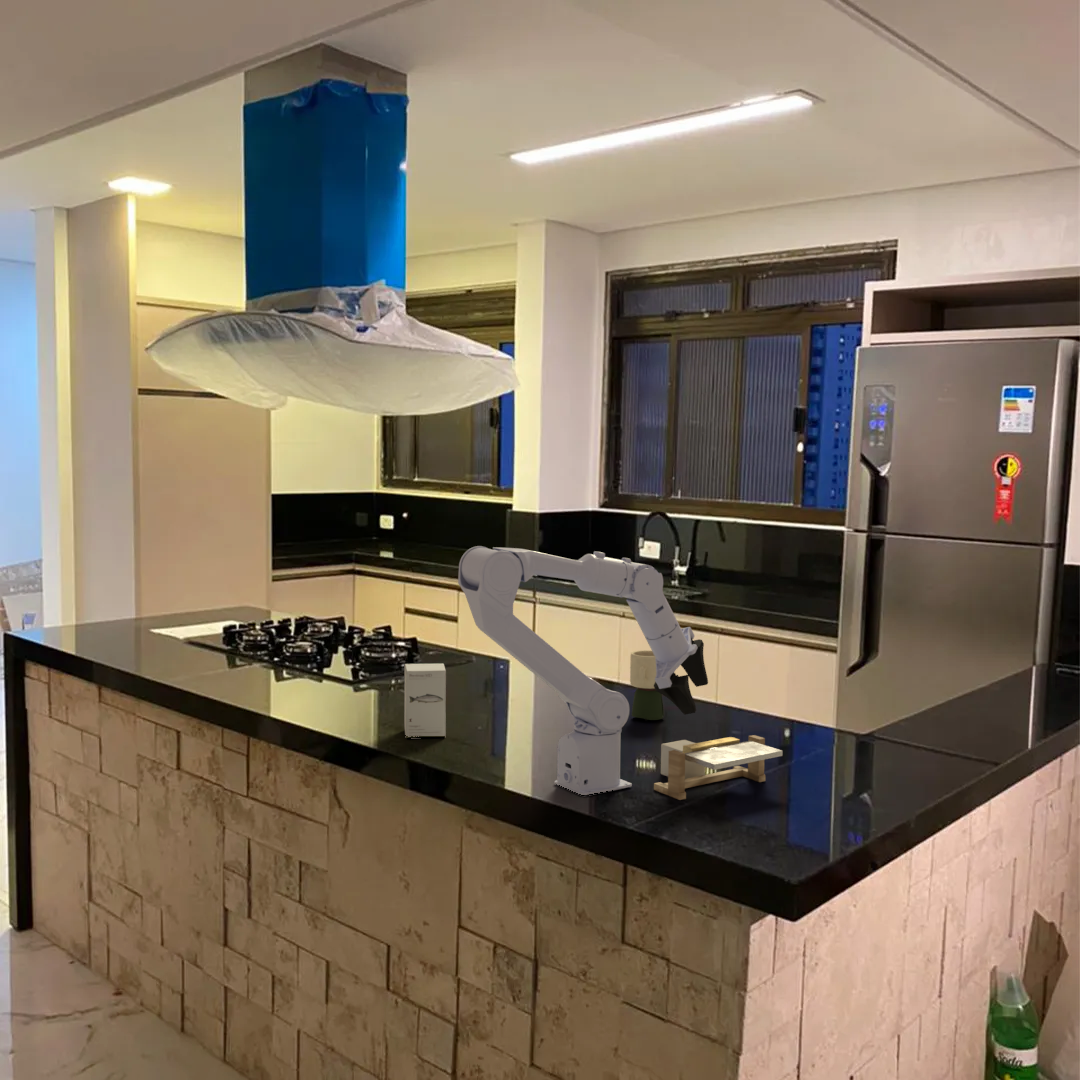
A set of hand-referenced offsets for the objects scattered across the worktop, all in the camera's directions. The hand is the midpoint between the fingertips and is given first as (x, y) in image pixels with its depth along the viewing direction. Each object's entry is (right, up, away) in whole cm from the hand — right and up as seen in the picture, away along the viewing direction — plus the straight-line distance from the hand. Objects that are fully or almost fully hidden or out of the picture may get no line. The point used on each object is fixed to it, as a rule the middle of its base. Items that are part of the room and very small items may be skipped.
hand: (696, 698), depth 176 cm
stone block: (-2, -12, -1) cm, 13 cm away
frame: (+1, -13, -7) cm, 14 cm away
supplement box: (-47, -10, +23) cm, 53 cm away
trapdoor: (+3, -8, -10) cm, 13 cm away
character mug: (-4, -10, +36) cm, 37 cm away
